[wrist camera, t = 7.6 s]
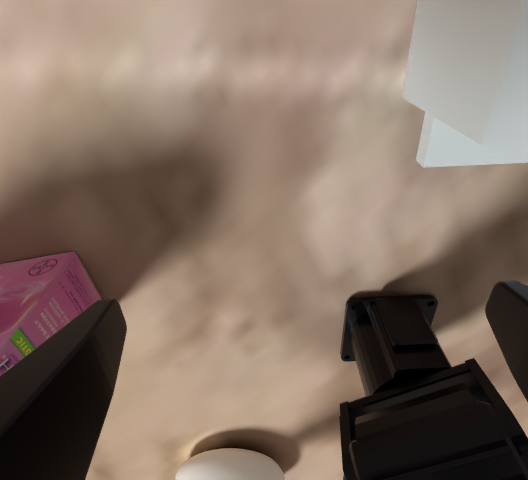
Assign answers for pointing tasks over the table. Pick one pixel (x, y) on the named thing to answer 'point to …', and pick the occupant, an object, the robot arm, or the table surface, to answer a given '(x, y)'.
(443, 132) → the lid
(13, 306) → the box
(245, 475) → the flower in vase
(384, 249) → the table surface
